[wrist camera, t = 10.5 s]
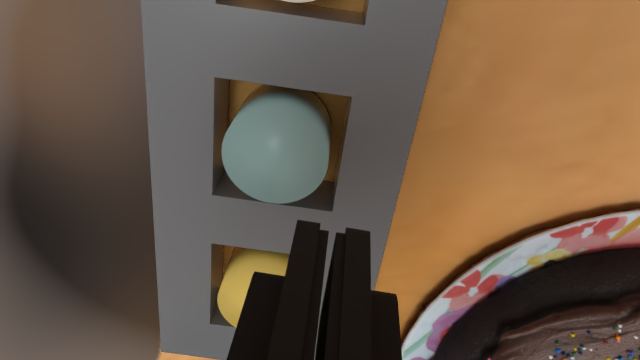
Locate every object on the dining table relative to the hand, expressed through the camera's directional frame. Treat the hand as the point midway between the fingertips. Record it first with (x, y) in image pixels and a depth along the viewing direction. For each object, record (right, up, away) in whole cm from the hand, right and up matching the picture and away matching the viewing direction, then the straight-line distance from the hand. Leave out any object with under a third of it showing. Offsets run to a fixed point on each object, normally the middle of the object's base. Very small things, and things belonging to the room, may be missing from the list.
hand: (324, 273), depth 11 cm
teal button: (-2, +5, +13) cm, 14 cm away
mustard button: (-3, -3, +17) cm, 18 cm away
